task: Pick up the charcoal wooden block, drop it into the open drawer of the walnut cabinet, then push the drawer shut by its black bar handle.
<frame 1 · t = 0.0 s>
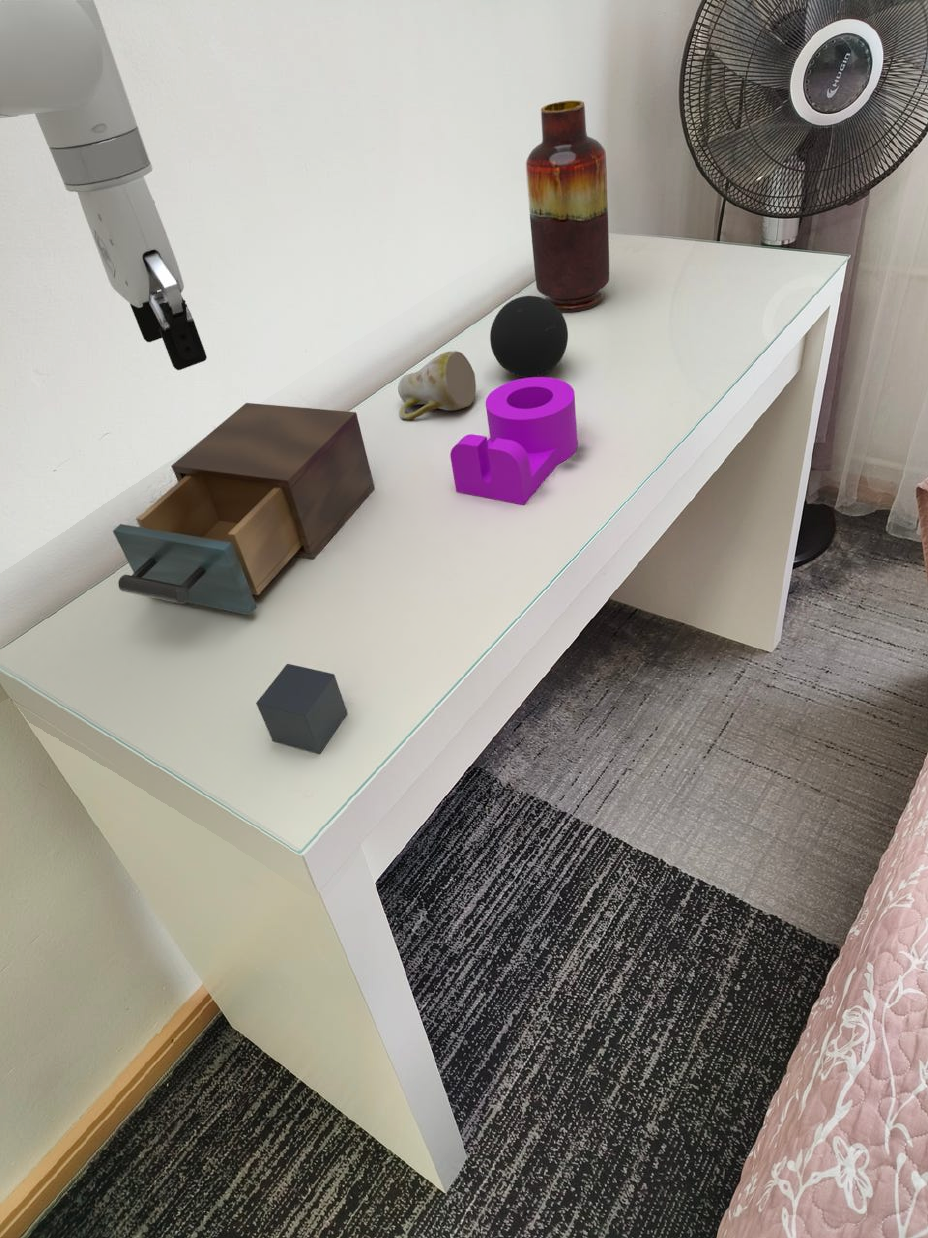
hand: (175, 350, 84), 20 cm above the table, tool pointing down, fingers open, 9 cm apart
vase: (573, 301, 129), on the table
mug: (436, 408, 109), on the table
block: (310, 727, 70), on the table
cabinet: (290, 514, 95), on the table
drawer: (206, 548, 83), point 5 cm above the table, slide at 9.0 cm
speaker: (532, 374, 113), on the table
tape dispenser: (522, 461, 96), on the table
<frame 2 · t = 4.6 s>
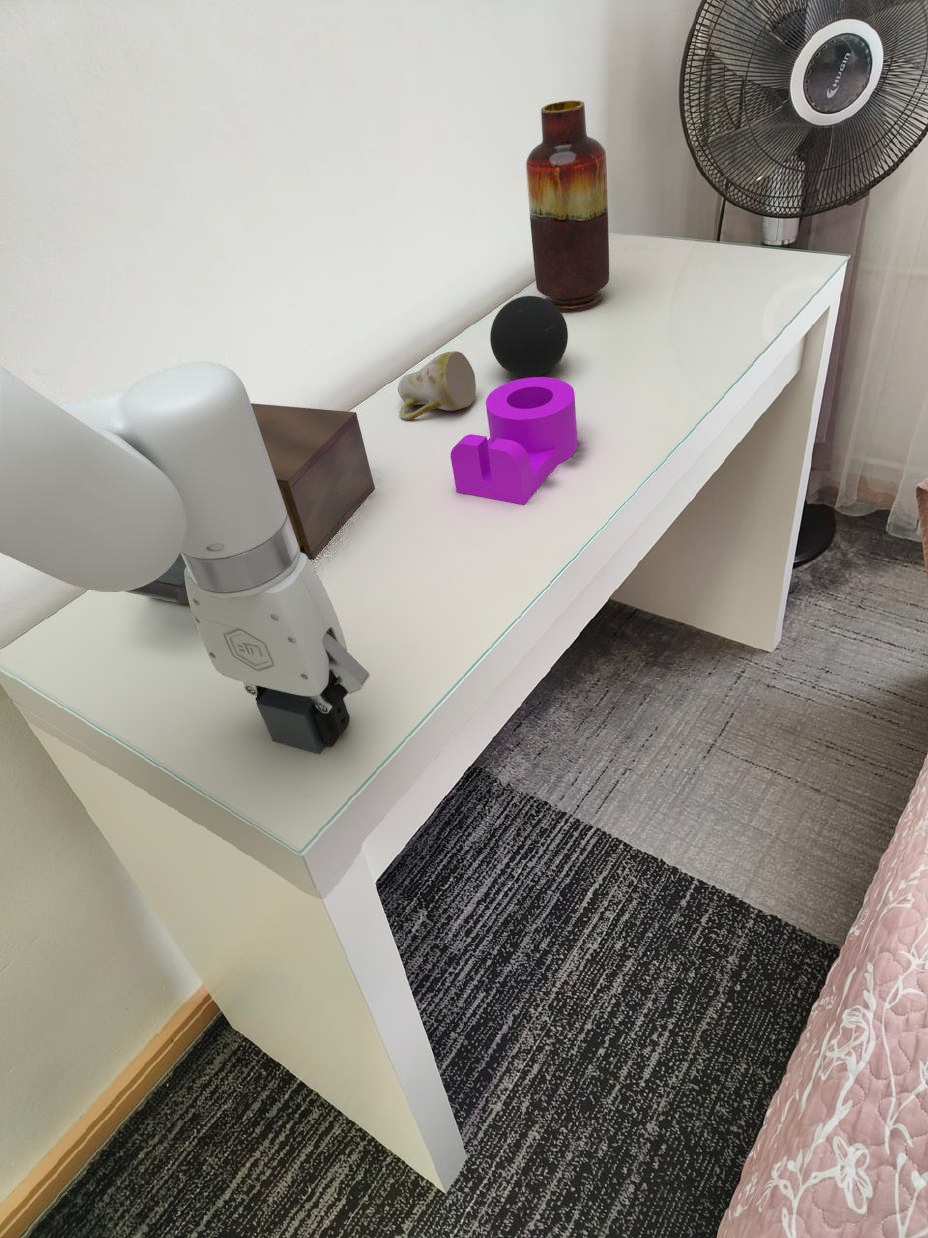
hand: (309, 724, 69), 0 cm above the table, tool pointing down, fingers closed on block, 4 cm apart
block: (310, 727, 70), on the table, touching gripper
everything else where it was.
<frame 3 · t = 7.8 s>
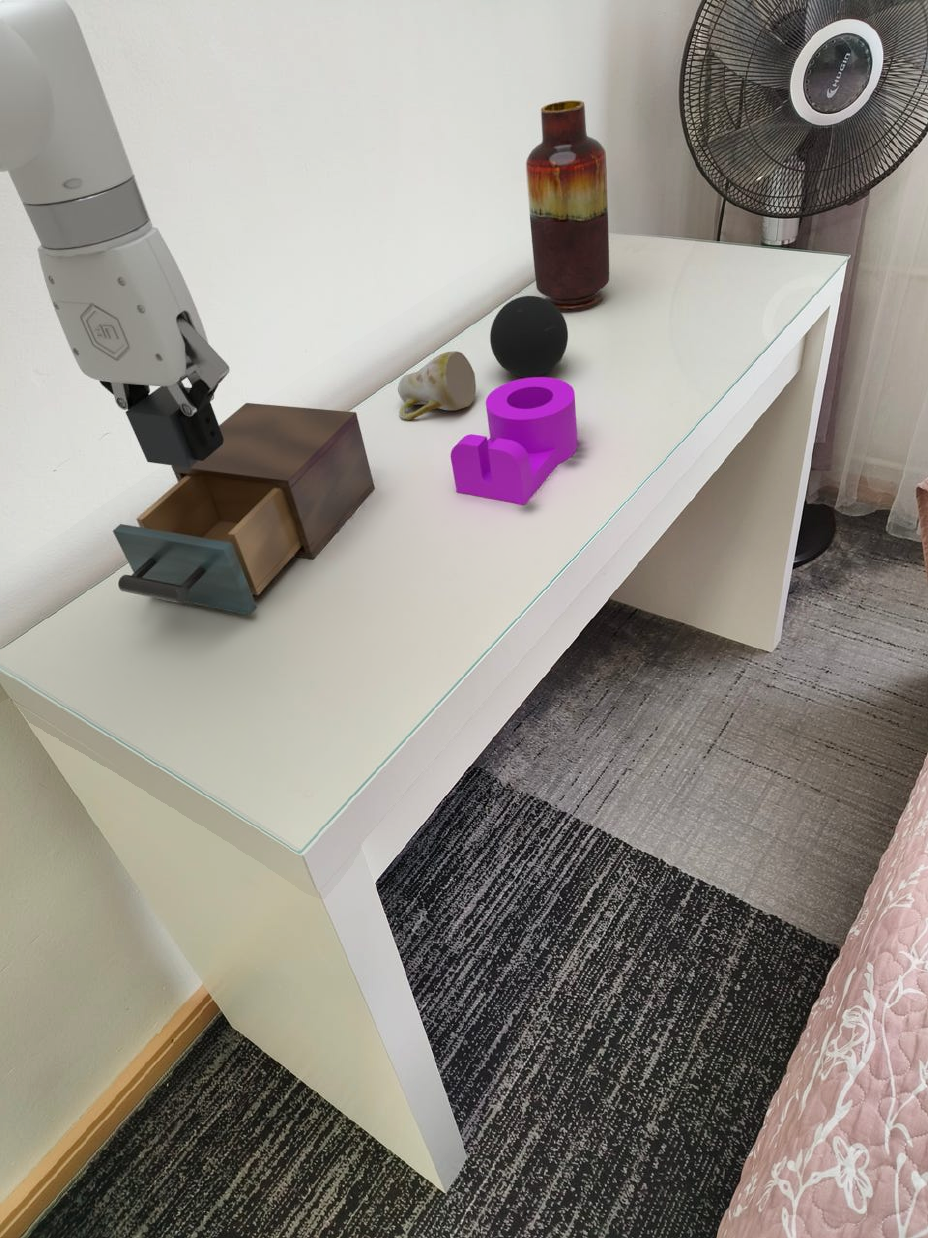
hand: (184, 446, 70), 19 cm above the table, tool pointing down, fingers closed on block, 4 cm apart
block: (186, 450, 70), point 18 cm above the table, touching gripper
everything else where it was.
when the fingers open (9 cm above the table, at t = 11.0 s): block drops 7 cm, resting on drawer.
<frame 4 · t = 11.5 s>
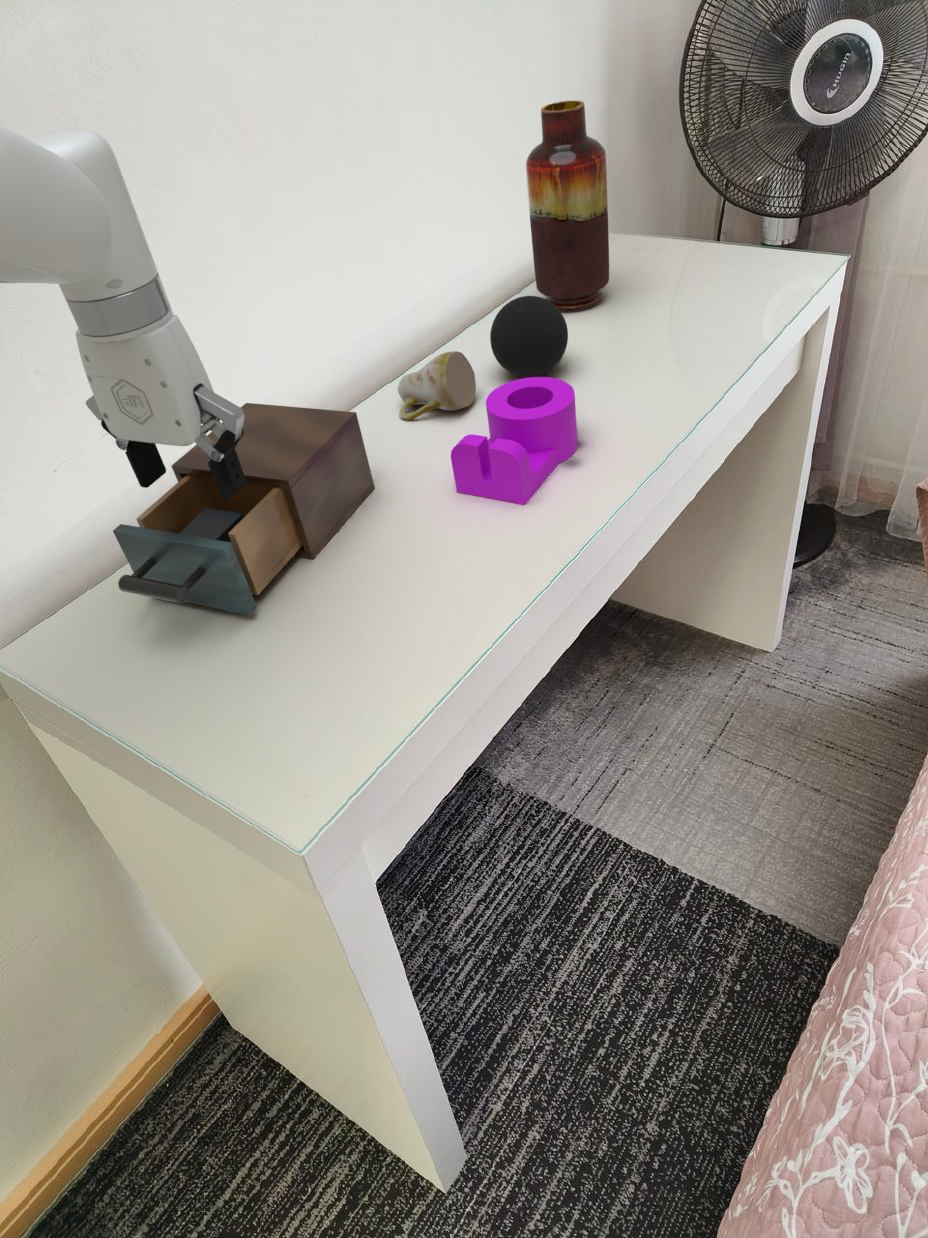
hand: (193, 485, 80), 11 cm above the table, tool pointing down, fingers open, 9 cm apart
block: (225, 560, 86), point 2 cm above the table, touching drawer
drawer: (206, 548, 83), point 5 cm above the table, slide at 9.0 cm, touching block
everything else where it was.
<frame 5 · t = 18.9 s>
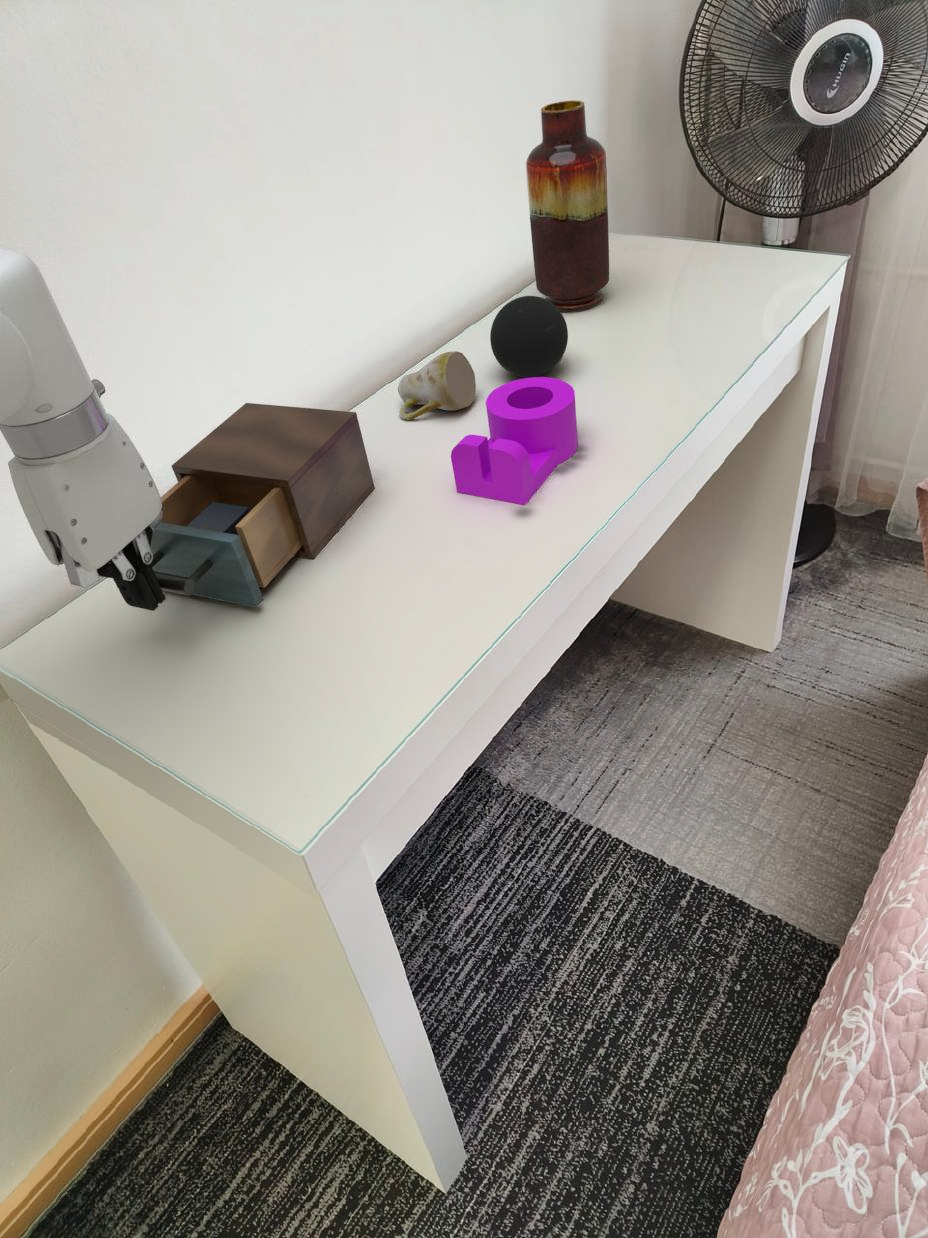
hand: (147, 602, 77), 5 cm above the table, tool pointing down, fingers closed
block: (231, 554, 87), point 2 cm above the table, touching drawer
drawer: (213, 541, 84), point 5 cm above the table, slide at 7.9 cm, touching block, gripper
everything else where it was.
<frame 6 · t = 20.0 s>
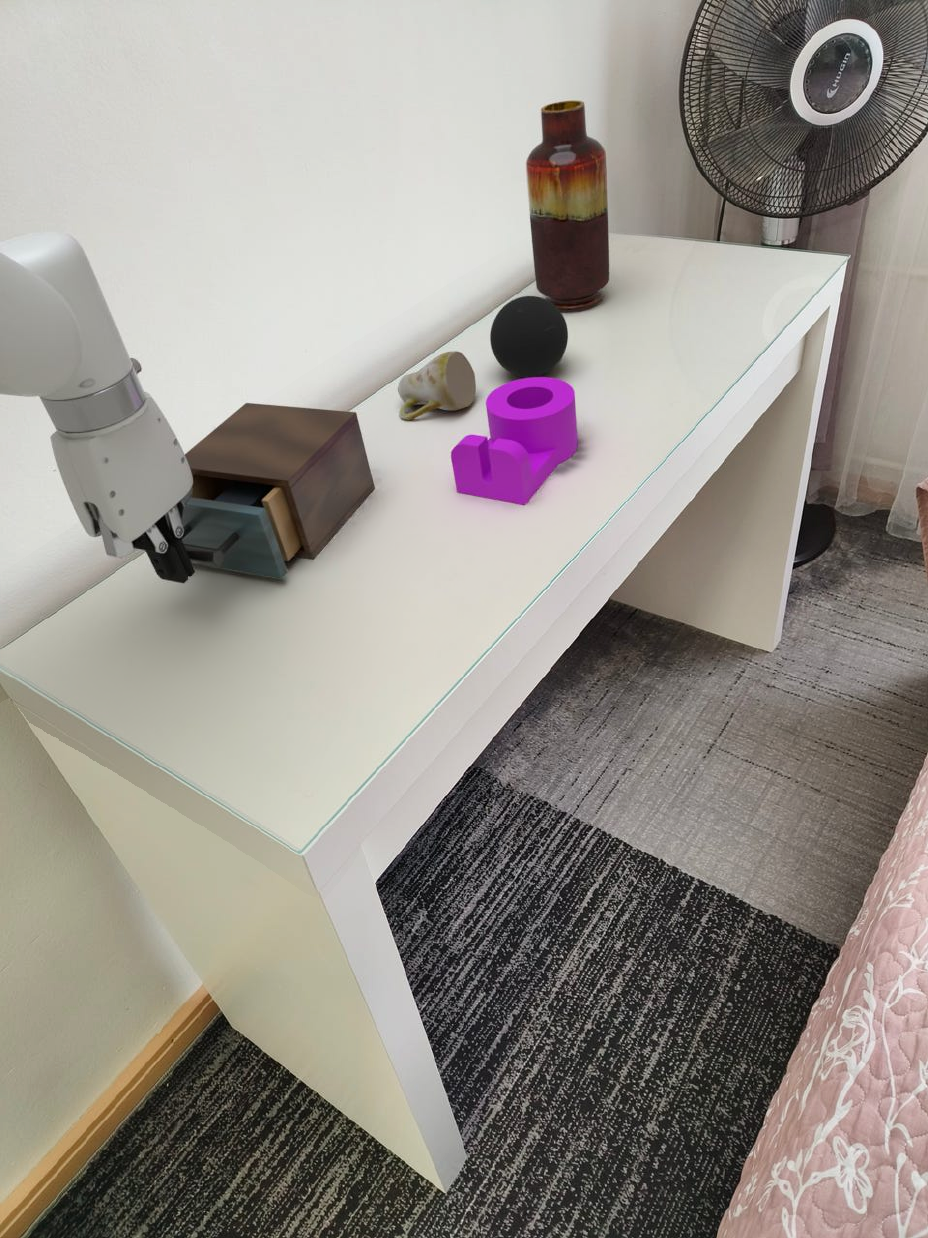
hand: (178, 575, 80), 5 cm above the table, tool pointing down, fingers closed
block: (255, 529, 90), point 2 cm above the table, touching drawer
drawer: (239, 516, 87), point 5 cm above the table, slide at 3.5 cm, touching block, gripper
everything else where it was.
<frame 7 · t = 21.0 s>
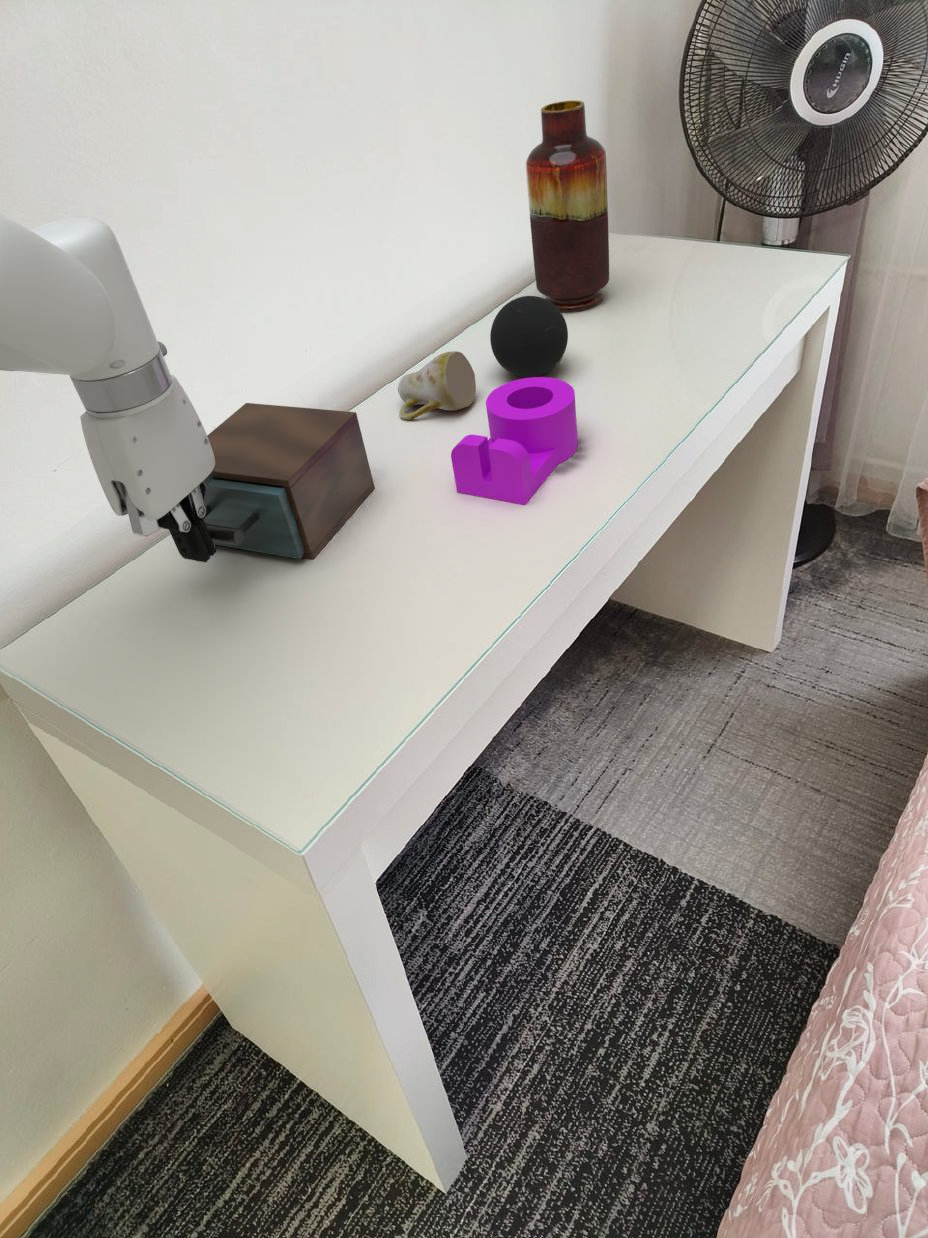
hand: (199, 555, 83), 5 cm above the table, tool pointing down, fingers closed
block: (273, 511, 92), point 2 cm above the table, touching drawer
drawer: (257, 497, 89), point 5 cm above the table, slide at 0.0 cm, touching block
everything else where it was.
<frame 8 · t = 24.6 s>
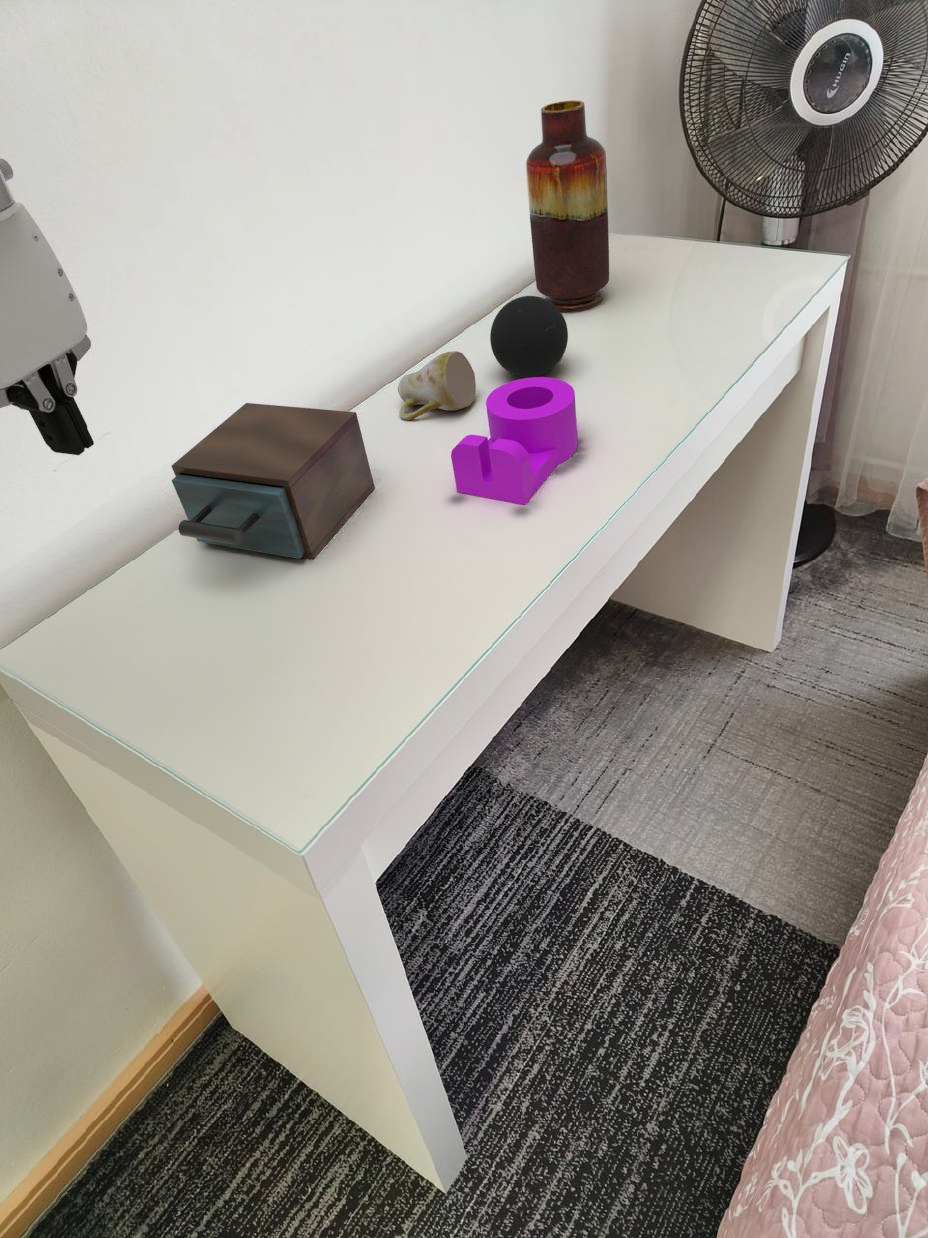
hand: (73, 448, 67), 21 cm above the table, tool pointing down, fingers closed
nothing on the table moved.
at the end: block inside the target area in the cabinet (2.4 cm from its centre), point 2.0 cm above the cabinet's base; drawer slide at 0.0 cm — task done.
